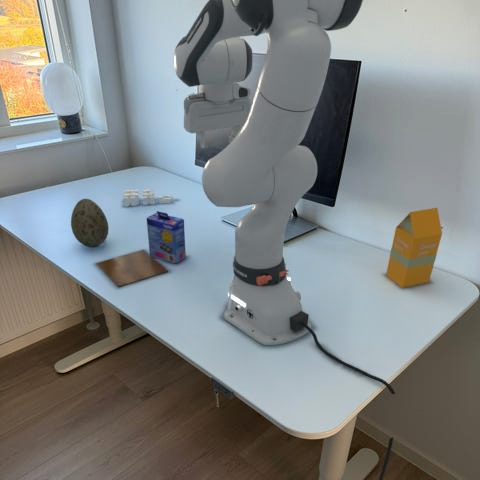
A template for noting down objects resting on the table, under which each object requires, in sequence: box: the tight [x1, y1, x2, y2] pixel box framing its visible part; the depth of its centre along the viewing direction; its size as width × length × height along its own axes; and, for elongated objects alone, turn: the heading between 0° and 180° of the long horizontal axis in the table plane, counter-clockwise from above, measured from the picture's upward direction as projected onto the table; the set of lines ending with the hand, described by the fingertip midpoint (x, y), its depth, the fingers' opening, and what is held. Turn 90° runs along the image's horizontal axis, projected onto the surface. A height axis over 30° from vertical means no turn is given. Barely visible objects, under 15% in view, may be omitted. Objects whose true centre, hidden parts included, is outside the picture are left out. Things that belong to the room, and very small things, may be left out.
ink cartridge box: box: [146, 210, 187, 264], centre depth 134 cm, size 10×6×14 cm, turn 63°
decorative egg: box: [70, 198, 109, 248], centre depth 141 cm, size 11×11×15 cm
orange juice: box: [385, 207, 443, 289], centre depth 122 cm, size 8×9×20 cm
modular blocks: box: [122, 188, 173, 208], centre depth 175 cm, size 20×7×4 cm, turn 101°
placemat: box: [96, 249, 169, 288], centre depth 133 cm, size 15×16×1 cm
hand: (218, 145), depth 130 cm, fingers open, 8 cm apart
